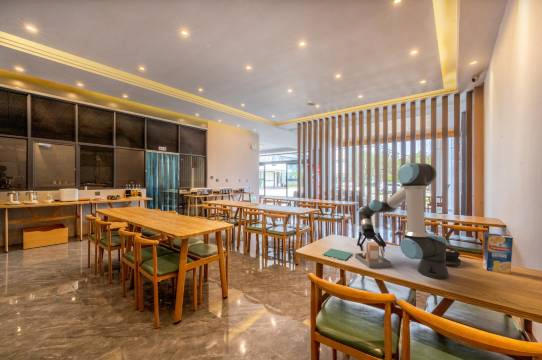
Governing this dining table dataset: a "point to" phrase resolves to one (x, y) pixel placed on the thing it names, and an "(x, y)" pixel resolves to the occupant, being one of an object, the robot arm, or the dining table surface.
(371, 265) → the bin
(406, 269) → the dining table surface
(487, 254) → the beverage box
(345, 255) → the mat
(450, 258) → the casserole
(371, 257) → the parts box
